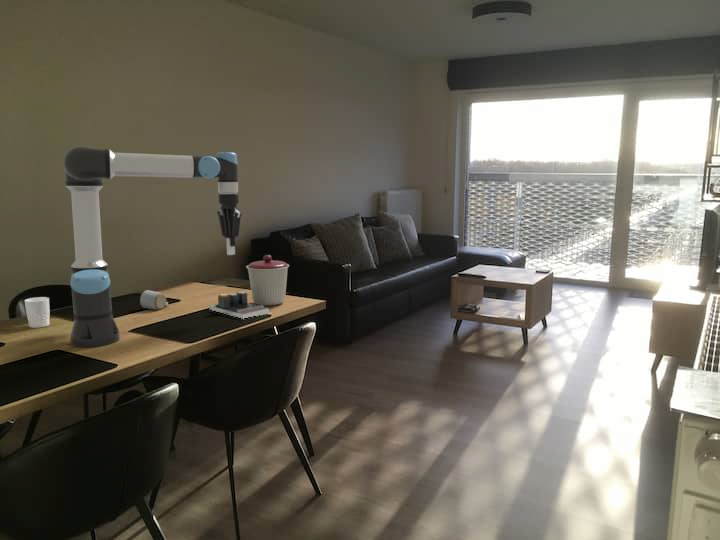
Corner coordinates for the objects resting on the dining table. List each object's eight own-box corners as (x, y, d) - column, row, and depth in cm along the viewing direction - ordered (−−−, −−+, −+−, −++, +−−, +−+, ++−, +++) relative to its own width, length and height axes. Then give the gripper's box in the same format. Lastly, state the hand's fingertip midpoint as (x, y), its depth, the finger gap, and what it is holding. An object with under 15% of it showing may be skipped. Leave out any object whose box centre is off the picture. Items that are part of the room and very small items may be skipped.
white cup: (56, 323, 214) (53, 297, 212) (39, 329, 207) (36, 302, 205) (39, 322, 216) (36, 296, 214) (22, 327, 209) (19, 301, 207)
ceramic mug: (156, 311, 231) (155, 293, 230) (140, 310, 234) (139, 291, 233) (173, 306, 241) (172, 288, 240) (157, 305, 244) (156, 287, 243)
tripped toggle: (224, 307, 226) (223, 295, 226) (218, 306, 229) (217, 294, 228) (229, 306, 228) (229, 294, 228) (223, 305, 231) (223, 293, 230)
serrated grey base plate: (242, 319, 218) (241, 301, 217) (209, 310, 232) (208, 294, 231) (269, 313, 228) (268, 296, 226) (235, 305, 242) (235, 289, 241)
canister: (283, 308, 235) (281, 258, 231) (241, 307, 238) (239, 257, 234) (295, 299, 253) (293, 252, 249) (256, 298, 255) (254, 251, 252)
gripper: (246, 193, 215) (249, 255, 219) (226, 192, 224) (229, 252, 228) (230, 194, 210) (233, 257, 214) (210, 193, 218) (213, 254, 222)
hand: (231, 254), depth 221 cm, fingers closed
